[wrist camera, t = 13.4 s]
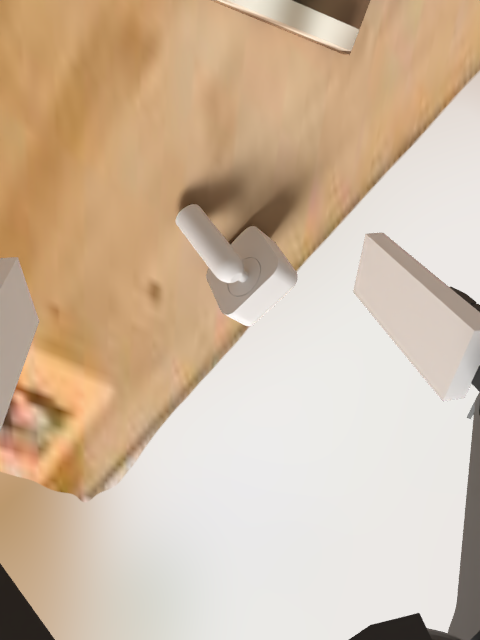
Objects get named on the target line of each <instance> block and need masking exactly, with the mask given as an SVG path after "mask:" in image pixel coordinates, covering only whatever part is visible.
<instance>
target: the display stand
mask: <svg viewBox="0 0 480 640" xmlns="http://www.w3.org/2000/svg"><path fill="white" fill-rule="evenodd" d="M211 1H214V2H216V3H219V4H221V5H224V6H226V7H229V8H231V9H234V10H236V11H239V12H241V13H243V14H246V15H248V16H251V17H253V18H256V19H258V20H261V21H263V22H266V23H268V24H271V25H273V26H275V27H278V28H280V29H283V30H285V31H288V32H290V33H293V34H295V35H298V36H300V37H302V38H305V39H307V40H310V41H312V42H315V43H317V44H320V45H322V46H325V47H327V48H330V49H332V50H334V51H337V52H339V53H342V54H349V55H350V53H351V50H352V48H353V45H354V42H355V40H356V37H357V34H358V32H359V29H360V26H361V23H362V21H363V18H364V15H365V13H366V10H367V7H368V5H369V2H370V0H211Z"/></svg>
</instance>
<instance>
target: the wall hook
mask: <svg viewBox="0 0 480 640" xmlns="http://www.w3.org/2000/svg"><path fill="white" fill-rule="evenodd" d="M176 224H177V226H178V227H179V228H180V230H181V231H182V232H183V234H184V235H185V236H186V238H187V239H188V240H189V242H190V243H191V244H192V246H193V247H194V248H195V250H196V251H197V252H198V254H199V255H200V256H201V257H202V259H203V260H204V261H205V263H206V264H207V265H208V267H209V269H208V271H207V276H206V277H207V281H208V283H209V286H210V288H211V290H212V292H213V294H214V297H215V299H216V301H217V303H218V306H219V308H220V310H221V312H222V313H223V314H225V315H227V316H228V317H230V318H232V319H234V320H236V321H238V322H240V323H241V324H243V325H246V326H251V325H253V324H255V323H256V322H257V321H258V320H259V319H260V318H261V317H262V316H263V315H265V314H266V313H267V312H268V311H269V310H270V309H271V308H272V307H273V306H274V305H275V304H276V303H277V302H279V301H280V300H281V299H282V298H283V297H284V296H285V295H286V294H287V293H288V292H289V291H290V290H291V289H292V288H293V287H294V286H295V284H296V282H297V272H296V271H295V269H294V268H293V267H292V265H291V264H290V262H289V261H288V259H287V258H286V257H285V255H284V254H283V253H282V251H281V250H280V248H279V247H278V246H277V244H276V243H275V242H274V241H273V240H272V239H270V238H269V237H268V236H267V235H266V234H264V233H263V232H262V231H261V230H260V229H258V228H257V227H256V226H250V227H248V228H246V229H245V230H244V231H243V232H242V233H241V234H240V235H239V236H238V237H237V238H236V239H235V240H234V241H233V242H232V243H231V244H229V243H228V241H227V240H226V239H225V238H224V236H223V235H222V234H221V233H220V231H219V230H218V229H217V228H216V226H215V225H214V224H213V223H212V221H211V220H210V219H209V217H208V216H207V215H206V214H205V212H204V211H203V210H202V209H201V207H200V206H199V205H197V204H191V205H188V206H186V207H185V208H183V209H182V210H181V211H180V212H179V213H178V215H177V217H176Z"/></svg>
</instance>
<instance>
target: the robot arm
mask: <svg viewBox="0 0 480 640" xmlns="http://www.w3.org/2000/svg"><path fill="white" fill-rule="evenodd" d="M353 292H354V294H355V295H356V296H357V297H358V298H359V300H360V301H361V302H362V303H363V305H364V306H365V307H366V308H367V309H368V311H369V312H370V313H371V314H372V316H373V317H374V318H375V319H376V320H377V322H378V323H379V324H380V325H381V326H382V328H383V329H384V330H385V331H386V332H387V334H388V335H389V336H390V337H391V339H392V340H393V341H394V342H395V344H396V345H397V346H398V347H399V348H400V350H401V351H402V352H403V353H404V355H405V356H406V357H407V358H408V359H409V361H410V362H411V363H412V364H413V365H414V367H415V368H416V369H417V370H418V372H420V374H421V375H422V376H423V378H424V379H425V380H426V381H427V383H428V384H429V385H430V386H431V387H432V389H433V390H434V391H435V392H436V394H437V395H438V396H439V397H440V398H441V400H442V401H447V400H455V399H461V398H465V396H466V394H467V392H468V390H469V388H470V386H471V384H473V385H474V386H475V387H476V388H477V389H478V391H479V392H480V305H479V304H476V302H475V301H474V300H473V299H472V298H470V297H469V296H468V295H467V294H465V293H463V292H461V291H459V290H457V289H455V288H453V287H448V286H447V285H446V284H445V283H444V282H442V281H441V280H440V279H439V278H437V277H436V276H435V275H434V274H433V273H431V272H430V271H429V270H428V269H427V268H425V267H424V266H423V265H422V264H420V263H419V262H418V261H417V260H416V259H414V258H413V257H412V256H411V255H409V254H408V253H407V252H406V251H405V250H403V249H402V248H401V247H400V246H398V245H397V244H396V243H395V242H394V241H392V240H391V239H390V238H389V237H388V236H386V235H385V234H384V233H371V234H366V235H365V239H364V244H363V249H362V253H361V258H360V263H359V267H358V272H357V276H356V281H355V286H354V290H353ZM38 323H39V319H38V316H37V313H36V310H35V307H34V304H33V301H32V298H31V295H30V292H29V289H28V286H27V283H26V281H25V278H24V275H23V272H22V269H21V266H20V263H19V260H18V257H13V258H0V430H1V427H2V425H3V422H4V419H5V416H6V413H7V411H8V408H9V405H10V402H11V399H12V397H13V394H14V391H15V388H16V385H17V382H18V380H19V377H20V374H21V371H22V368H23V366H24V363H25V360H26V357H27V354H28V352H29V349H30V346H31V343H32V340H33V337H34V335H35V332H36V329H37V326H38ZM472 415H474V420H473V431H472V442H471V454H470V464H469V475H468V486H467V498H466V508H465V520H464V530H463V541H462V552H461V563H460V574H459V585H458V597H457V605H456V609H455V613H454V616H453V619H452V622H451V624H450V627H449V631H448V634H447V633H445V632H441V631H437V630H432V629H428V628H426V626H425V624H424V622H423V620H422V618H421V616H420V614H419V613H417V614H413V615H409V616H406V617H401V618H398V619H393V620H389V621H385V622H381V623H377V624H373V625H370V626H368V627H367V628H365V629H364V630H362V631H361V632H360V633H358V634H357V635H355V636H354V637H352V638H351V639H349V640H480V393H479V394H478V396H477V398H476V400H475V402H474V404H473V406H472V408H471V410H470V412H469V414H468V416H467V418H469V419H471V417H472ZM0 640H55V639H54V638H53V637H52V635H51V634H50V632H49V631H48V629H47V628H46V627H45V625H44V624H43V622H42V621H41V620H40V619H39V617H38V615H37V614H36V613H35V611H34V610H33V609H32V607H31V606H30V604H29V603H28V602H27V600H26V599H25V597H24V596H23V595H22V593H21V592H20V591H19V589H18V588H17V586H16V585H15V583H14V582H13V581H12V579H11V578H10V577H9V575H8V574H7V573H6V571H5V570H4V568H3V567H2V565H1V564H0Z"/></svg>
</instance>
